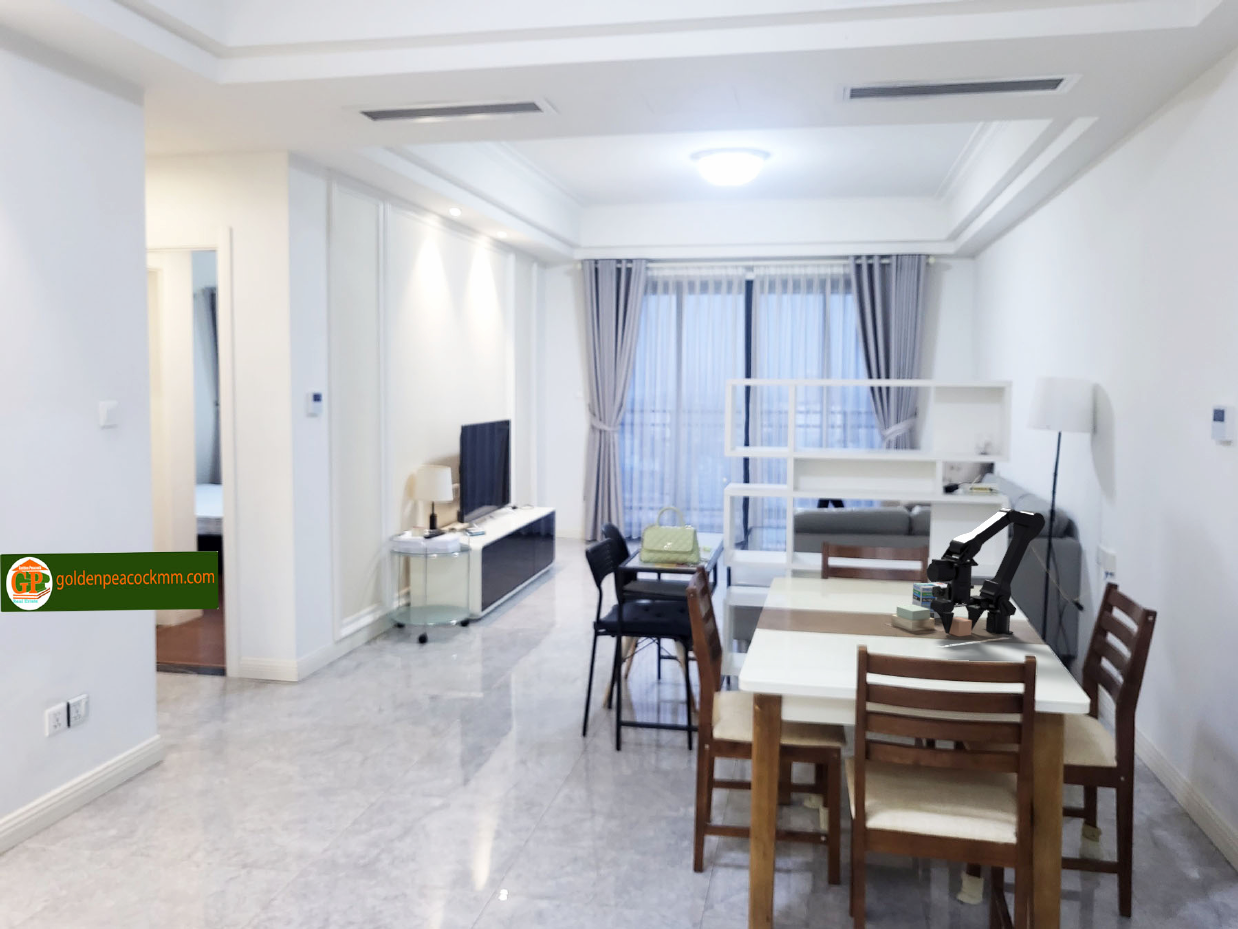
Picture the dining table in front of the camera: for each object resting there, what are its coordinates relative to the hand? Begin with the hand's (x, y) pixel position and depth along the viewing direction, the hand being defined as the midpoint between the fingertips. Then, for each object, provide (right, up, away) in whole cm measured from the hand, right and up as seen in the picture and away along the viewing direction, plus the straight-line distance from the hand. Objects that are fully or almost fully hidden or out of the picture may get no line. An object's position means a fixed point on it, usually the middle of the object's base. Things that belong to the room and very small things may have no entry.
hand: (958, 632), depth 290 cm
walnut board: (-9, 0, +8) cm, 12 cm away
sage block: (-11, +3, +8) cm, 14 cm away
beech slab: (-11, 0, +8) cm, 14 cm away
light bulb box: (-1, 0, +23) cm, 23 cm away
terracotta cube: (0, -1, 0) cm, 1 cm away
